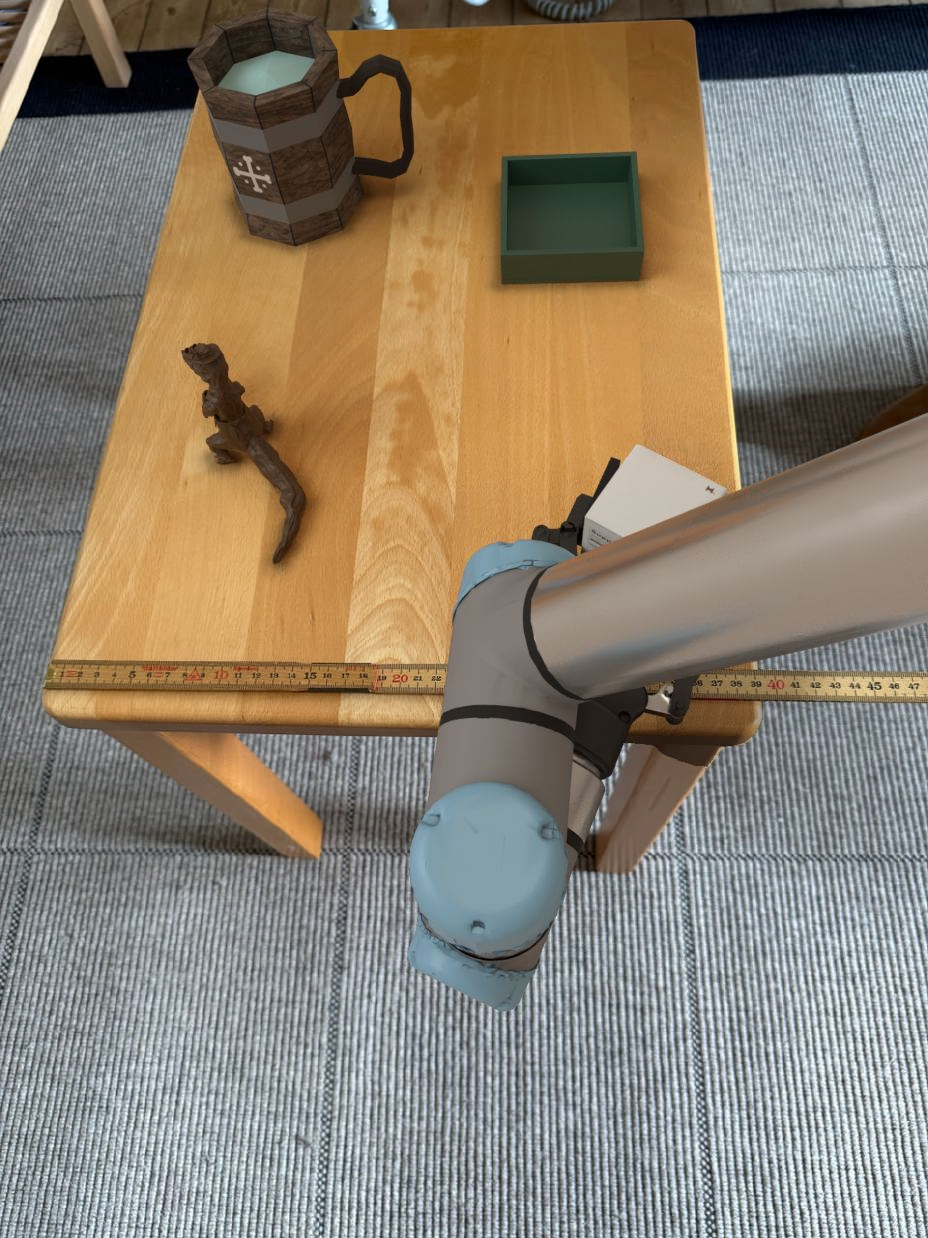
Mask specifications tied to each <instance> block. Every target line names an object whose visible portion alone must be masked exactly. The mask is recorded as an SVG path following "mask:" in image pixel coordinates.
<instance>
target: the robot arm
mask: <svg viewBox="0 0 928 1238" xmlns="http://www.w3.org/2000/svg"><path fill="white" fill-rule="evenodd" d="M621 461H622V460H621V459H619V458H616V457H613V456H610V458H609V460H608V463H607V465H606V467H605V469H604V471H603V474H602V476H601V477H600V480H599V482H598V484H597V487H596V489H595V491H594V493H593V496H591V495H589V494H585V493H582V492H581V493H580V494H579V495H578V496H577V497H576V499H575V501H574V502H573V505H572V507H571V509H570V511H569V513H568V516H567V517H566V519H565V520H564V521H563V522H561V524H560V526H559V527H558V528H557V527H556V528H550V527H548V526H547V525H545V524H539V525H536V526H535V527H534V528H533V531H532V534H531V538H530V539H529V538H526V539H524V538H523V539H522V538H521V539H516V540H515V541H514V542H506V541H496V542H492V543H489V544H486V545H484V546H483V547H481V548H479V549H478V550H476V551H475V552H474V553H473V554H472V555H471V556H470V557H469V559H468V561H466V564H465V566H464V568H463V571H462V577H461V580H460V581H461V582H460V585H459V589H458V590H459V591H458V595H457V600H456V604H455V605H454V606H453V608H452V618H451V627H452V629H451V636H450V644H449V651H448V659H447V666H446V673H445V681H444V689H443V695H442V705H441V710H440V712H441V713H440V720H439V724H438V730H437V735H436V736H437V737H436V742H435V749H434V756H433V764H432V769H431V775H430V782H429V788H428V794H427V795H428V796H427V804H426V809H425V813H424V815H423V817H422V819H421V821H420V822H419V823H418V825H417V827H416V829H415V832H414V834H413V837H412V840H411V845H410V850H409V863H408V864H409V865H408V873H409V884H410V885H411V887H412V889H413V898H414V900H415V902H416V903H417V905H418V908H419V915H418V917H417V924H416V925H417V926H416V928H415V930H414V933H413V936H412V939H411V941H410V943H409V947H408V949H407V958H408V962H409V964H410V966H411V967H412V968H413V969H414V970H415V971H418V972H420V973H422V974H424V975H426V976H428V977H429V978H431V979H433V980H435V981H437V982H438V983H441V984H443V985H445V986H446V987H448V988H451V989H453V990H455V991H457V992H459V993H462V994H463V995H465V996H467V997H469V998H471V999H472V1000H475V1001H477V1002H479V1003H482V1004H484V1005H485V1006H488V1007H490V1008H492V1009H494V1010H496V1011H498V1012H504V1013H505V1012H510V1011H512V1010H514V1009H516V1008H517V1007H518V1005H519V1004H520V1002H521V1001H522V999H523V996H524V994H525V992H526V989H527V988H528V985H529V983H530V981H531V978H532V977H533V976H534V975H535V974H536V971H537V970H538V968H539V967H538V966H539V963H540V961H541V958H540V957H541V955H542V952H543V949H544V947H545V944H546V942H547V939H548V938H549V937H548V936H549V933H550V931H551V929H552V926H553V924H554V921H555V919H556V918H557V916H558V913H559V912H558V911H559V909H560V907H561V906H562V904H563V903H564V901H565V898H566V894H567V891H568V884H569V881H570V879H571V876H572V874H573V871H574V868H575V865H576V863H577V860H578V857H579V855H580V854H581V852H582V849H583V847H584V844H586V841H587V839H588V836H589V833H590V831H591V828H592V825H593V823H594V820H595V818H596V815H597V813H598V811H599V808H600V805H601V802H602V801H603V798H604V796H605V793H606V787H605V784H604V782H603V781H604V780H606V779H607V778H609V777H611V776H612V775H613V772H614V770H615V767H616V765H617V762H618V760H619V757H620V755H621V752H622V750H623V747H624V745H625V743H626V740H627V737H628V735H629V732H630V729H631V727H632V725H633V723H635V721H637V720H638V719H639V718H640V717H642V716H643V714H648V715H653V716H657V717H661V718H665V720H666V722H667V723H668V724H669V725H671V726H678V725H681V723H683V720H684V719H685V717H686V716H687V713H688V711H689V709H690V705H691V700H692V693H693V688H694V686H695V684H696V683H697V681H698V679H699V678H700V677H701V675H702V674H706V673H710V672H717V671H720V670H724V669H728V668H732V667H738V666H742V665H747V664H751V663H755V662H759V661H764V660H768V659H772V658H777V657H783V656H786V655H790V654H795V653H800V652H803V651H807V650H812V649H817V648H821V647H825V646H830V645H834V644H838V643H843V642H848V641H852V640H856V639H857V640H858V639H860V638H866V637H871V636H874V635H879V634H883V633H888V632H891V631H896V630H901V629H904V628H910V627H913V626H918V625H919V626H920V625H923V624H927V623H928V412H926V413H923V414H921V415H918V416H917V417H914V418H912V419H909V420H907V421H904V422H901V423H899V424H897V425H894V426H891V427H889V428H887V429H884V430H882V431H880V432H877V433H875V434H873V435H869V436H868V437H865V438H863V439H860V440H858V441H855V442H852V443H850V444H848V445H846V446H843V447H840V448H838V449H836V450H833V451H830V452H828V453H826V454H823V455H821V456H818V457H816V458H814V459H811V460H808V461H806V462H804V463H801V464H798V465H796V466H794V467H791V468H789V469H787V470H784V471H782V472H780V473H777V474H774V475H771V476H769V477H767V478H764V479H762V480H760V481H756V482H755V483H753V484H749V485H747V486H745V487H742V488H740V489H737V490H734V491H733V492H731V493H727V494H726V495H725V496H723V497H720V498H718V499H715V500H713V501H711V502H708V503H706V504H703V505H701V506H698V507H696V508H693V509H691V510H688V511H686V512H684V513H681V514H679V515H676V516H674V517H671V518H669V519H666V520H664V521H662V522H659V523H657V524H654V525H652V526H649V527H647V528H644V529H642V530H639V531H637V532H635V533H632V534H630V535H627V536H625V537H622V538H620V539H617V540H615V541H613V542H610V543H608V544H605V545H603V546H600V547H598V548H595V549H593V550H591V551H588V552H586V553H583V554H581V553H580V554H578V546H579V547H580V548H581V547H582V539H583V530H584V521H585V515H586V514H587V512H588V511H589V510H590V508H591V507H592V505H593V504H594V502H595V501H596V499H597V498H598V497H599V495H600V494H601V492H602V491H603V490H604V488H605V487H606V485H607V484H608V483H609V481H610V480H611V478H612V477H613V476H614V474H615V473H616V471H617V470H618V469H619V467H620V466H621ZM671 681H674V682H673V684H670V683H667V682H671ZM662 683H667V684H663V685H662V686H661V687H660V689H659V690H658V692H657V693H655V694H649V693H648V690H647V687H650V686H653V685H658V684H662Z"/></svg>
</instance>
